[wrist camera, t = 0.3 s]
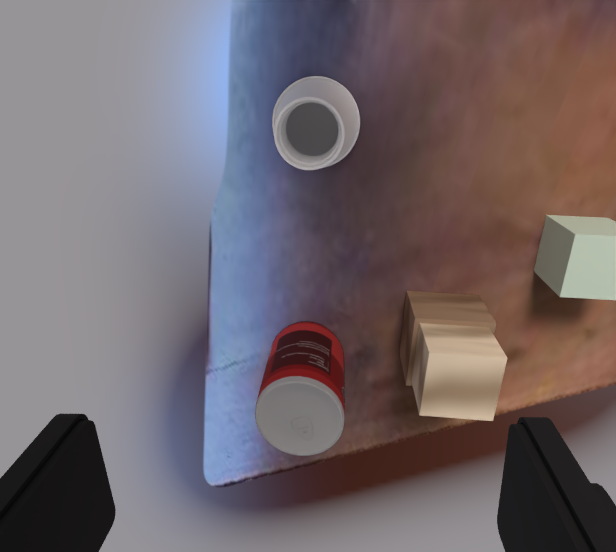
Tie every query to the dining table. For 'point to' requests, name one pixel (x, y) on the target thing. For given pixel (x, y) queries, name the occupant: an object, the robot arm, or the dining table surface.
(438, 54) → the dining table surface
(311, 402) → the canned food
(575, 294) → the sage block
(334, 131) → the vase
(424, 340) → the beech block
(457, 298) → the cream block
